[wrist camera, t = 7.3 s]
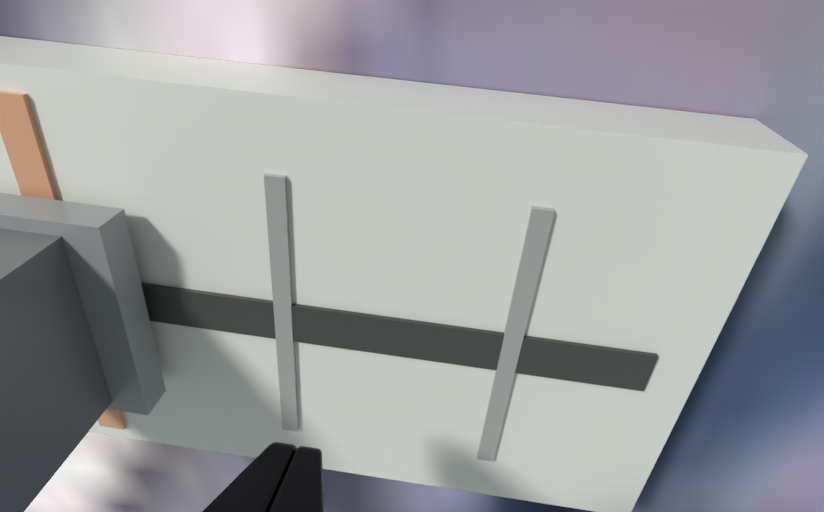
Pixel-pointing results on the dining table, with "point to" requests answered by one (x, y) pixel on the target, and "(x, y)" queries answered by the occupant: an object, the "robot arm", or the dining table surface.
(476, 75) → the dining table surface
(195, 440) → the fader console
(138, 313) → the fader slider
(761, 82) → the dining table surface
